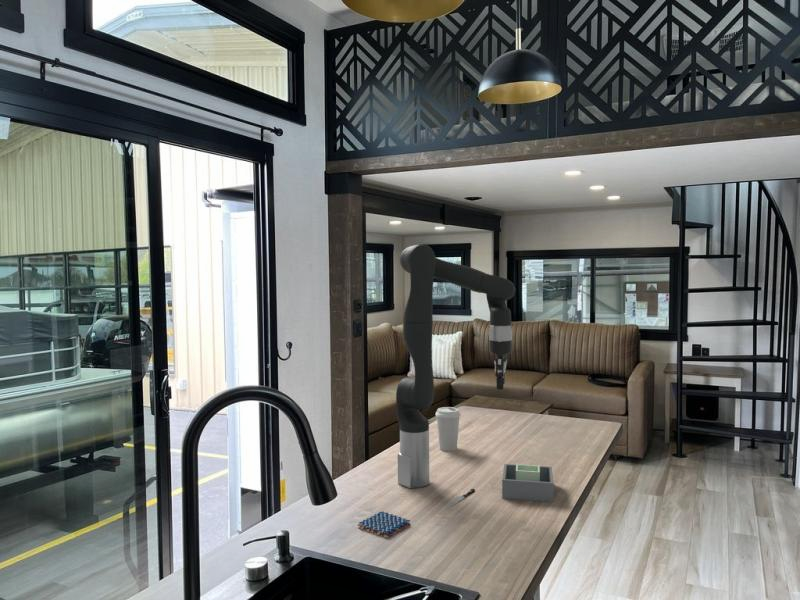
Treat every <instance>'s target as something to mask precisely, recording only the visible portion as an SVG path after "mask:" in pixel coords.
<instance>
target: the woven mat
mask: <svg viewBox="0 0 800 600" xmlns="http://www.w3.org/2000/svg"><path fill="white" fill-rule="evenodd" d="M410 521H411V520H410V519H407V518H406V517H405V518H403V517H402V516H398V515H394V514H393V513H389V512H386V511H383V510H382V511H379V512H378V513H375V514H374V515H371V516H370V517H367V518H366V519H363V520H362V521H359V522H358V524H357V526H358V527H357V529H360V530H363V531H364V532H366V531H367V532H368V533H369V532H370V533H371V534H374V535H378V536H380V538H382V537H383V538H384V539H385V538H386V539H387V538H389V537H392V536H393V535H394V534H395V533H398V532H399V531H401V530H403V529H405V528H406V527H408V526H410V525H411V523H410Z"/></svg>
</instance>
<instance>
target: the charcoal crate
mask: <svg viewBox="0 0 800 600" xmlns="http://www.w3.org/2000/svg"><path fill="white" fill-rule="evenodd" d="M539 466H540V482H539V481H525V480H516V464H512V463H504V464H503V470H502V471H503V472H502V480H501V483H502V484H501V487H502V488H501V489H502V490H501V491H502V492H501V494H502V496H501V498H502V499H507V500H520V501H534V502H544V503H545V502H547V503H548V502H549V503H554V477H553V467H552V466H547V465H545V466H544V465H539Z"/></svg>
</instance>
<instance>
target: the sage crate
mask: <svg viewBox="0 0 800 600" xmlns="http://www.w3.org/2000/svg"><path fill="white" fill-rule="evenodd" d="M515 465H516V480H525V481H539V482H540V466H541V465H538V464H537V465H533V464H523V463H522V464H521V463H520V464H518V463H516V464H515Z"/></svg>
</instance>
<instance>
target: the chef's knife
mask: <svg viewBox="0 0 800 600" xmlns="http://www.w3.org/2000/svg"><path fill="white" fill-rule="evenodd" d="M475 491H476V489H475V488H471V489H470V490H469V491H468V492H466V493H464V494H463V495H457V496H456V495H455V496H454V497H453V498H452V499H451V500H450V501H448V502H447V503H446V504H445V506H444V511H447V510H449V509H450V508H452V507H454V506H455V505H456V504H458V503H460V502H461V501H462V499H463V500H464V499H465V498H467V497H469V496H470V495H471V494H473V493H475Z"/></svg>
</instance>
